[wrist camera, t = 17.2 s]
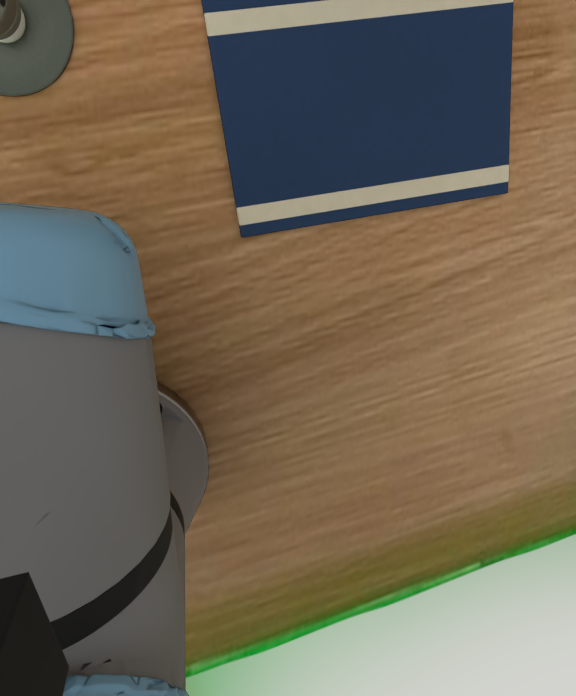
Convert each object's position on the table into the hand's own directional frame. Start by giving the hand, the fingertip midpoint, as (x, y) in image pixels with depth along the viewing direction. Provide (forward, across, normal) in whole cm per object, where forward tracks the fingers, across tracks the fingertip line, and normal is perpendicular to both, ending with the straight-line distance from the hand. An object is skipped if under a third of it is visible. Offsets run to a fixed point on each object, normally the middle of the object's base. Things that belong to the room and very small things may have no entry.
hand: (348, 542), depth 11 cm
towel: (+27, +11, +10) cm, 31 cm away
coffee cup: (+27, -10, +17) cm, 33 cm away
